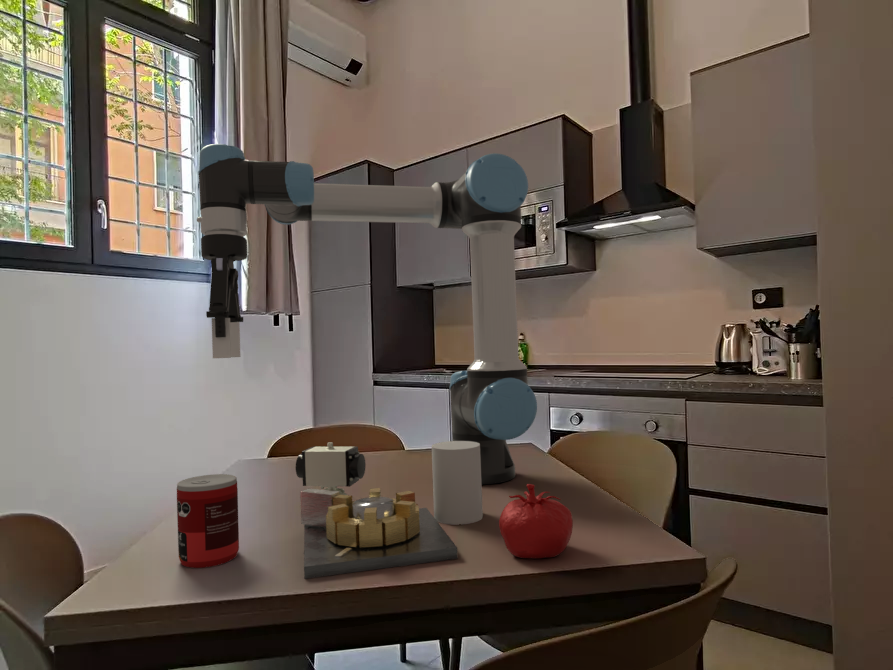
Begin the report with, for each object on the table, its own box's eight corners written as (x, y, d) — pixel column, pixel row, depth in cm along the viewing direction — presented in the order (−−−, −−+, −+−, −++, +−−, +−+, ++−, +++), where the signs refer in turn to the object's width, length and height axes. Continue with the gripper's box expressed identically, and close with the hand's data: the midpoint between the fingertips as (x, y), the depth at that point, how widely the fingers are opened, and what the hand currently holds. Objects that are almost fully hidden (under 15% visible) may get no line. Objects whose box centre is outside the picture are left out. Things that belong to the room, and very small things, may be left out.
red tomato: (575, 568, 72) (573, 495, 72) (496, 564, 74) (494, 493, 74) (571, 539, 82) (570, 475, 82) (502, 537, 84) (500, 474, 84)
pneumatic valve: (358, 513, 99) (356, 444, 99) (296, 512, 101) (294, 444, 101) (369, 504, 104) (366, 439, 104) (309, 503, 106) (307, 439, 107)
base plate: (426, 516, 96) (425, 480, 96) (457, 558, 76) (455, 513, 76) (304, 530, 91) (303, 492, 91) (304, 578, 71) (302, 530, 71)
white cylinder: (488, 511, 97) (485, 441, 98) (474, 526, 90) (472, 450, 90) (443, 508, 100) (441, 440, 100) (427, 522, 92) (424, 448, 93)
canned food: (190, 550, 83) (188, 475, 83) (245, 546, 84) (243, 472, 84) (169, 571, 76) (166, 488, 76) (230, 566, 76) (228, 484, 77)
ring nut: (435, 522, 87) (433, 489, 87) (388, 552, 74) (387, 513, 75) (331, 510, 95) (330, 480, 95) (275, 535, 83) (274, 501, 83)
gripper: (212, 248, 110) (215, 357, 110) (186, 219, 86) (190, 359, 86) (253, 249, 112) (256, 356, 112) (238, 220, 88) (242, 357, 87)
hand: (227, 357), depth 99 cm, fingers open, 13 cm apart
